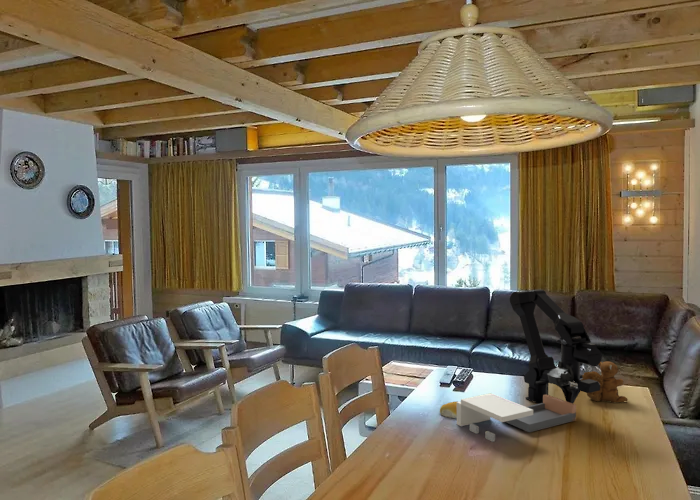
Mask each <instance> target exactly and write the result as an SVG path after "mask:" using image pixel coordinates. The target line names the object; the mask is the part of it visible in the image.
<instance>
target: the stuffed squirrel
mask: <svg viewBox="0 0 700 500" xmlns="http://www.w3.org/2000/svg"><path fill="white" fill-rule="evenodd" d="M597 366H599V368H600V373H599V372H597V371H587V372H584V373H583V374H582V375H583V378H581V379H580V380H587V379H591V380H594V381H598V382H599V383H600V391H595V392H591V393H586V396H587V397H588V398H590V399H591V400H592V401H593V402H596V401H599V402H600V400H601V401H603V402H607V401H611V402H610V403H614V402H624V401H627V402H628V397H626V396H623V395H619V389H618V387H622V386H623V385H624V381H625V380H624V379H622V378H618V379H617V378H616V377H615V376H616V375H617V374H618V373H619V374H622V372H621V370H620V368H618V365H616V364H615V363H614V362H612V361H603V362H602V361H601V362H600V363H599V364H598V365H597ZM624 403H625V402H624Z"/></svg>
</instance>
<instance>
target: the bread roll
mask: <svg viewBox="0 0 700 500" xmlns="http://www.w3.org/2000/svg"><path fill="white" fill-rule="evenodd" d="M457 402H458V401H452V402H451V401H450V402H448V403H444V404H443V405H441V407H440V408H439V414H440V415H441V416H443V417H445V418H449V419H457Z"/></svg>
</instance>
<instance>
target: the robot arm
mask: <svg viewBox="0 0 700 500" xmlns="http://www.w3.org/2000/svg"><path fill="white" fill-rule="evenodd" d="M509 302H510V305H511V307H512V311H514V312H515V314H516V315H517V316H518V317H519V319H520V322H521V326H522V330H523V333H524V336H525V341H526V343H527V344H526V345H527V348H528V351H529V355H530V357H529V361H528V371H527V372H526V373H525V374H524V376H523V380H524V383H526V384H528V388H527V389H528V391H527V392H528V393H527V394H528V395H527V396H526V397H525V400H528V401H531V402H533V403H536V404H540V403H543V395H546V394H547V395H549V384H551V385H555V386H557V387H558V388H560V389H561V390H562V393H563V396H564V399H565V401H567V402H570V403H573V404H575V401H576V400H577V397H578V395H579V394H580V393H581V392H583V393H585V394H587V393H591V392H595V391H600V383H599V382H598V381H594V380H591V379H587V380H581V379H583V375H584V374H582V373H581V367H582V366H583V365H586V366H591V367H597V366H599V365H598V364H599V363H600V362H602V358H603V355H602V352H601V350H600V349H599V348H598V347H597V346H598V344H597V343H592V341H591V339H590V335H588V333H587V331H586V329H585V326H584V324H583V322H582V321H581V320H579V319H578V318H577V317H575V316H573V315H570V314H568V313H566V312H565V311H564V310H563V309H562V308H561V307H560V306H559V305H557V303H556V302H555V301H554V300H553V299H552V298H551V297H550V296H549V295H548V294H547V292H546V291H545V290H544V289H532V290H521V291H512V292H511V294H510V296H509ZM536 307H538V308H539V309H540V310H541V311H542V312H543V314H545V315H546V317H548V318H549V319H550V321H552V323H553V325H554V329H555V331H556V332H557V334H558V335H559V337H560V338H558V339H557V340H556V343H557V344H561V351H560V352H561V354H560V355H561V357H560V358H561V360H560V361H558V363H557V366H556V365H555V361H554V358H553V356H549V355H547V353H546V352H545V349H544V344H543V342H542V338H541V334H540V330H539V327H538V324H537V319H536V317H535V310H536Z"/></svg>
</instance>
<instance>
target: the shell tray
mask: <svg viewBox="0 0 700 500" xmlns="http://www.w3.org/2000/svg"><path fill="white" fill-rule="evenodd" d="M526 407H527V408H530V409H533V415H531V416H526V417H522V418H518V419H514V420H510V421H506V422H505V423H506V424H508V425H511V426H513V427H516V428H518V429H520V430H523V431H525V432H527V433H532V432H536V431H539V430H544V429H548V428H552V427H555V426H559V425H563V424H566V423H570V422H574V421H576V420H577V419H576V418H577V404H575V403H570V402H567V401H566V400H564V399H560V398H558V397H555V396H552V395H549V394H548V395H547V394H546V395H543V403H540V404H539V403H536V404H532V405H528V406H526Z"/></svg>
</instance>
